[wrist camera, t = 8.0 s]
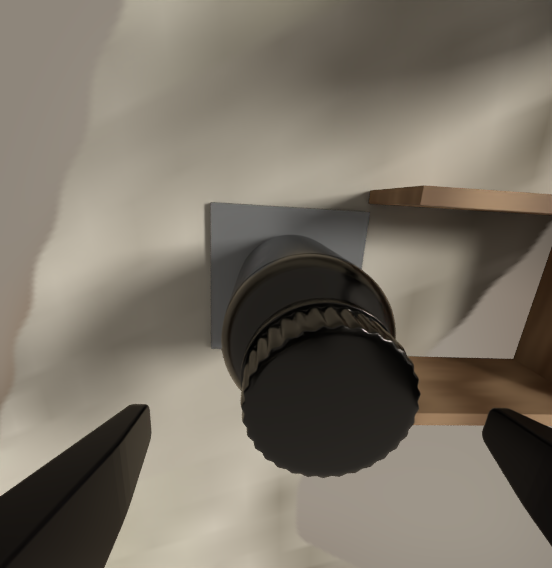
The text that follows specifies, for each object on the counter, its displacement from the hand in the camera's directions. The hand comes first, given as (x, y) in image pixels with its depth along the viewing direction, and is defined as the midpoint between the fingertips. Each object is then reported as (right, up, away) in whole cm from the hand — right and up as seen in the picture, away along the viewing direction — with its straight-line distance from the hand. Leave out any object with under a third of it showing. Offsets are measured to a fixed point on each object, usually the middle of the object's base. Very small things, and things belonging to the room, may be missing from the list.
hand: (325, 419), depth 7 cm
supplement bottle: (0, +4, +12) cm, 12 cm away
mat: (-1, +4, +12) cm, 12 cm away
